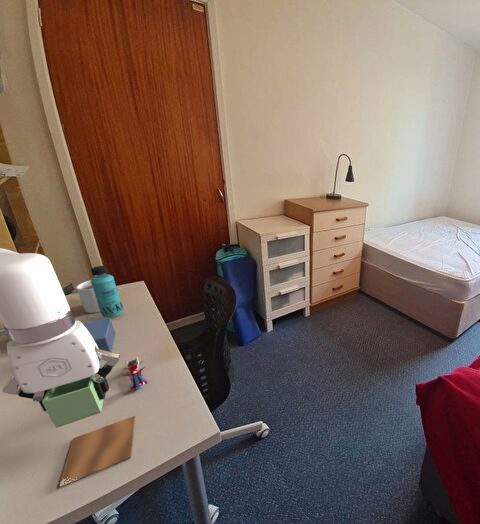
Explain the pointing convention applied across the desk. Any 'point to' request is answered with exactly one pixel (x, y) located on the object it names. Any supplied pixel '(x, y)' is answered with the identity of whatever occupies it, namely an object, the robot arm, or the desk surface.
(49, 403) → the green tub
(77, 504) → the desk surface
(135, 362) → the toy action figure
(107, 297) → the beverage bottle
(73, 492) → the desk surface
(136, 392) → the desk surface
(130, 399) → the desk surface
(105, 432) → the cork mat
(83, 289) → the mug
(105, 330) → the blue block
